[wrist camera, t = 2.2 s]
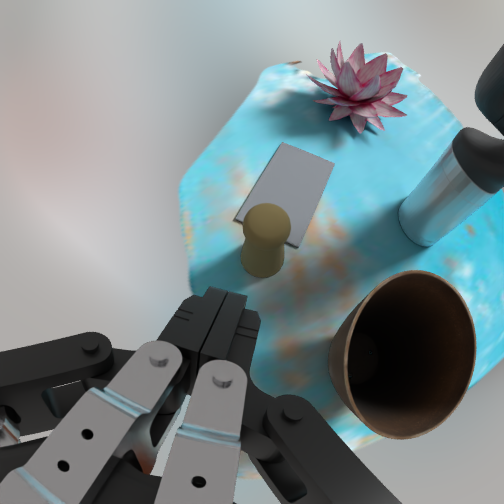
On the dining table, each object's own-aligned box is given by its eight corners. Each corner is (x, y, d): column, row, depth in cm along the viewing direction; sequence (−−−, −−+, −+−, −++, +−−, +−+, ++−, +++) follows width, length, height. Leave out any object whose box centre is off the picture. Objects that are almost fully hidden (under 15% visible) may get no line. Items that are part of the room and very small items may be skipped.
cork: (292, 254, 38) (308, 216, 28) (265, 286, 36) (273, 258, 26) (259, 229, 39) (263, 184, 29) (231, 259, 38) (225, 221, 27)
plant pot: (410, 323, 34) (485, 298, 19) (380, 419, 29) (451, 443, 14) (323, 290, 36) (372, 244, 21) (284, 394, 31) (314, 423, 16)
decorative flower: (284, 90, 52) (291, 34, 38) (356, 82, 56) (371, 36, 42) (339, 155, 45) (365, 91, 31) (411, 138, 49) (439, 90, 35)
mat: (282, 143, 46) (282, 142, 45) (334, 165, 44) (334, 163, 44) (235, 219, 40) (235, 218, 40) (298, 247, 38) (298, 246, 38)
